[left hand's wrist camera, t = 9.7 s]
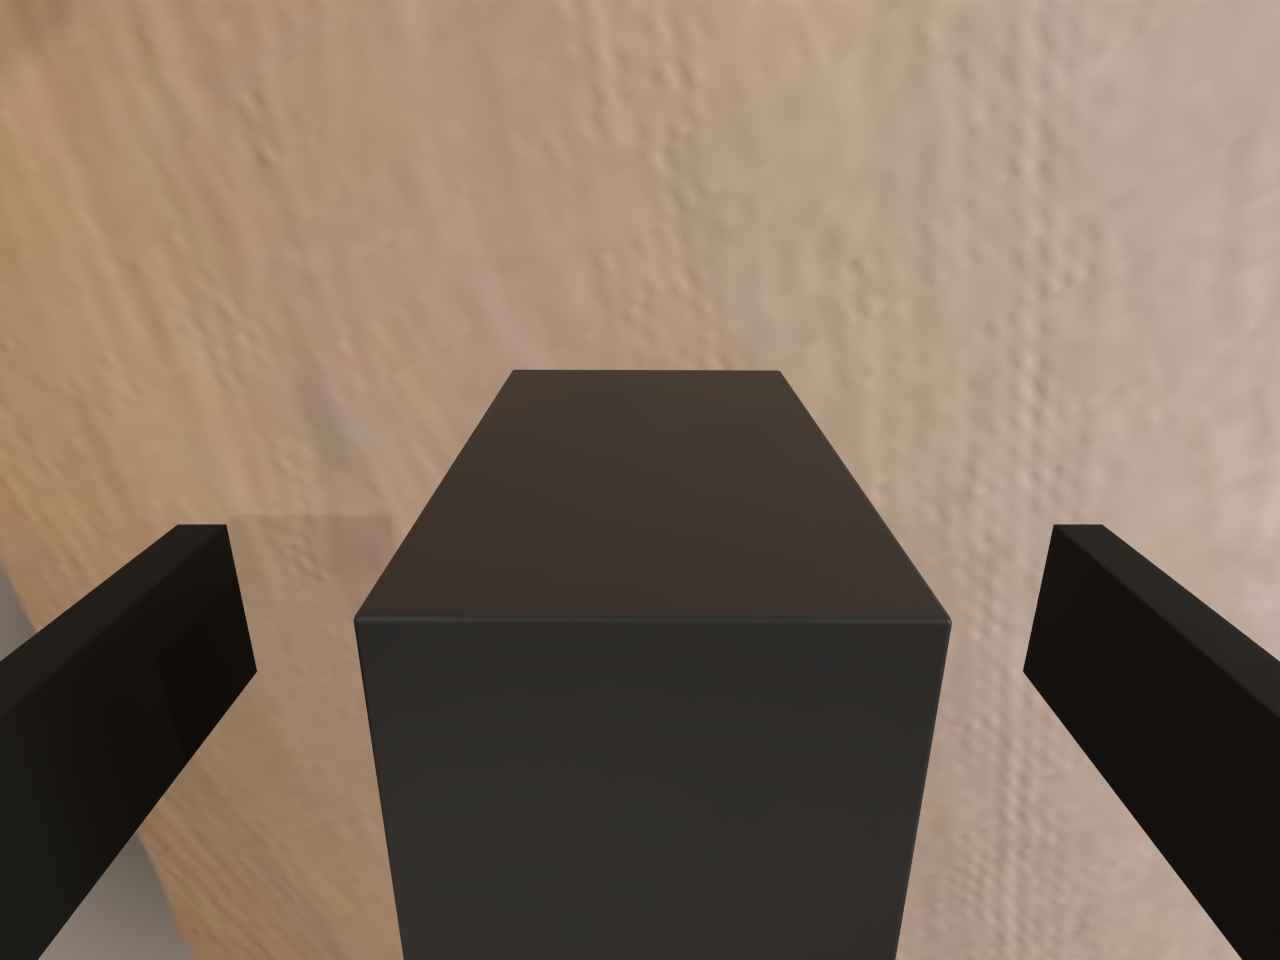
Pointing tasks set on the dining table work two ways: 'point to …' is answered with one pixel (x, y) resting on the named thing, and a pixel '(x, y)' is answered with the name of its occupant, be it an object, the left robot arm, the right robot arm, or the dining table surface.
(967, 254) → the dining table surface
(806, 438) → the bar
